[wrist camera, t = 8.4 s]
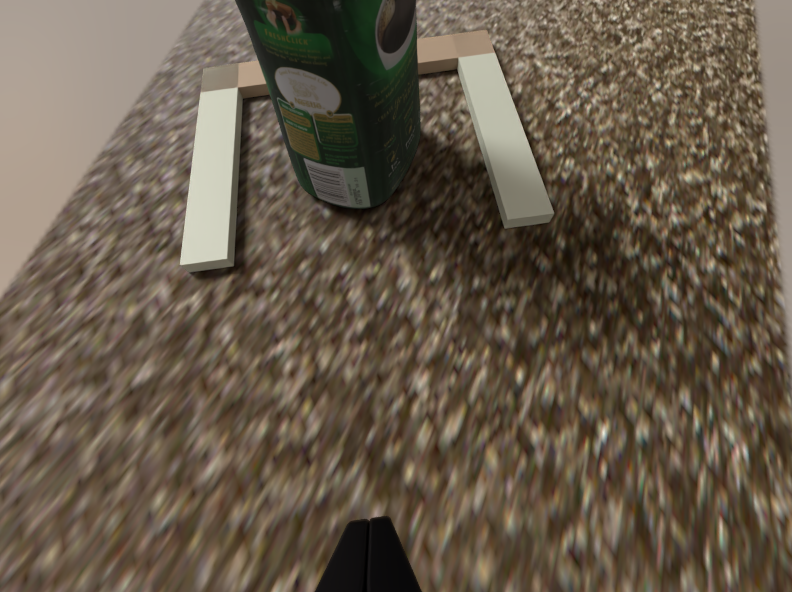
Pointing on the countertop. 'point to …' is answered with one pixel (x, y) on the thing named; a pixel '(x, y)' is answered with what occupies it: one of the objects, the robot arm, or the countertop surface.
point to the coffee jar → (342, 91)
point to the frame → (466, 52)
